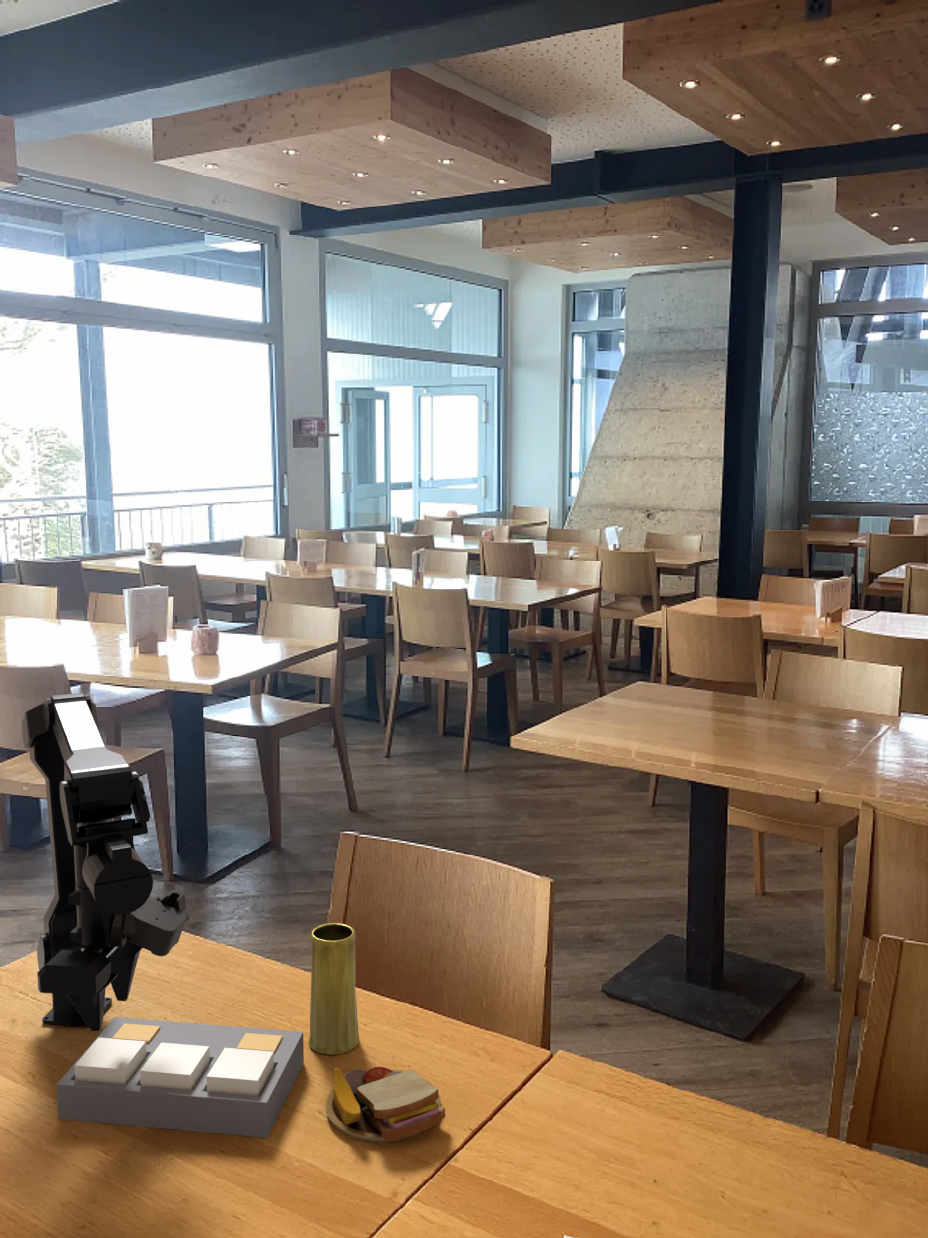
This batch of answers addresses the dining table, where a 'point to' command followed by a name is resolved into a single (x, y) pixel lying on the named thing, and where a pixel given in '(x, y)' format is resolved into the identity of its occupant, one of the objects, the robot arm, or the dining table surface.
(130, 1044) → the key
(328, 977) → the vase
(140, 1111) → the key panel
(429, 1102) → the toy sandwich meal
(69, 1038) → the dining table surface
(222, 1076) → the key
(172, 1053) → the key middle
